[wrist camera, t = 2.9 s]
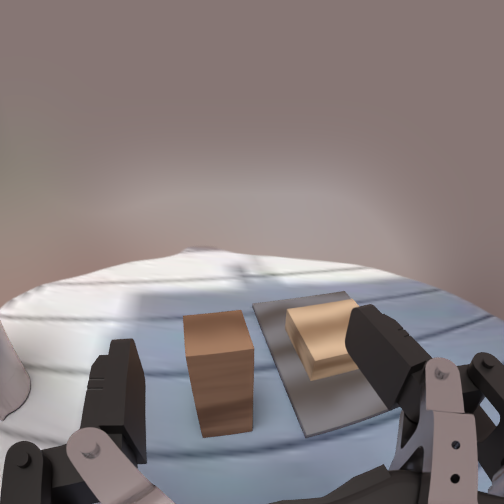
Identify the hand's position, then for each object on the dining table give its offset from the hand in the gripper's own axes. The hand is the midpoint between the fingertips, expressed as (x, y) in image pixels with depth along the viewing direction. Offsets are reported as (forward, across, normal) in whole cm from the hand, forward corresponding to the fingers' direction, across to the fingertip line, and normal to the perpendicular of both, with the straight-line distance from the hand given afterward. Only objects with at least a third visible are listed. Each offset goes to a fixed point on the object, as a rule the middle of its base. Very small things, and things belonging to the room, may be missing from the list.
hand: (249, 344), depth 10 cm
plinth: (+18, -15, +20) cm, 31 cm away
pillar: (+11, 0, +20) cm, 23 cm away
